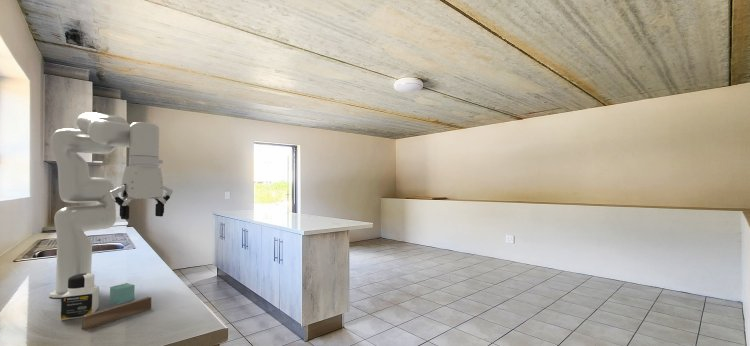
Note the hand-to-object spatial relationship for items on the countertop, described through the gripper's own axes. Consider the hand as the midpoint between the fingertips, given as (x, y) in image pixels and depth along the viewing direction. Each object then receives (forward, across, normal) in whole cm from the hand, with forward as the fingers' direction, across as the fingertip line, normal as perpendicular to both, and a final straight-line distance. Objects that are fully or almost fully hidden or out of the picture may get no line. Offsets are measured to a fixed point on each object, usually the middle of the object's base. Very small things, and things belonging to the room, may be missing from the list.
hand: (142, 217), depth 100 cm
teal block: (+30, -4, -19) cm, 35 cm away
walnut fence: (+30, +4, -3) cm, 30 cm away
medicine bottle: (+30, +8, -16) cm, 35 cm away
